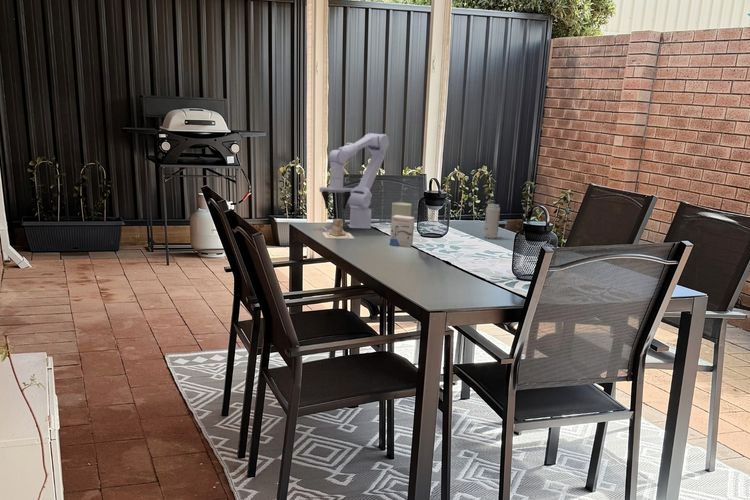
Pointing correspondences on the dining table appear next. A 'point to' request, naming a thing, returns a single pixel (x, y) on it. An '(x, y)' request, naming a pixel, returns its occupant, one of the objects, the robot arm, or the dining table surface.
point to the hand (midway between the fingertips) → (335, 208)
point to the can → (401, 209)
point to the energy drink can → (492, 221)
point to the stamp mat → (327, 236)
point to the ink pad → (328, 229)
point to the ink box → (402, 231)
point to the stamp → (337, 228)
